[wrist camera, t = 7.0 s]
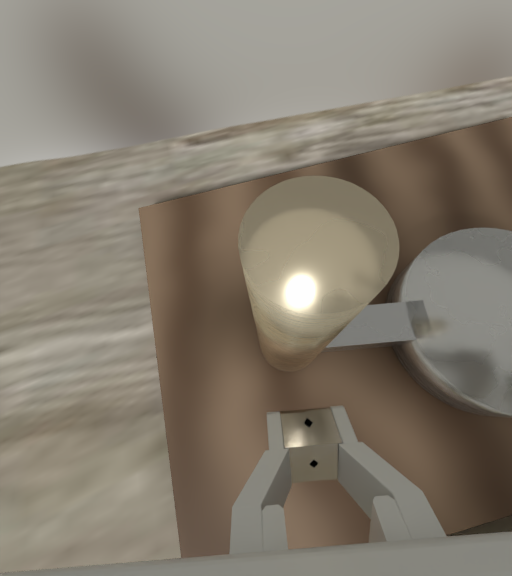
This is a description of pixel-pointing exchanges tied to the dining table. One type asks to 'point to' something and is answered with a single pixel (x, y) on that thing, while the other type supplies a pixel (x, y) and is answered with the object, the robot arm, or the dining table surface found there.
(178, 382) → the base board
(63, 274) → the dining table surface
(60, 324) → the dining table surface
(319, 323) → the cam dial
